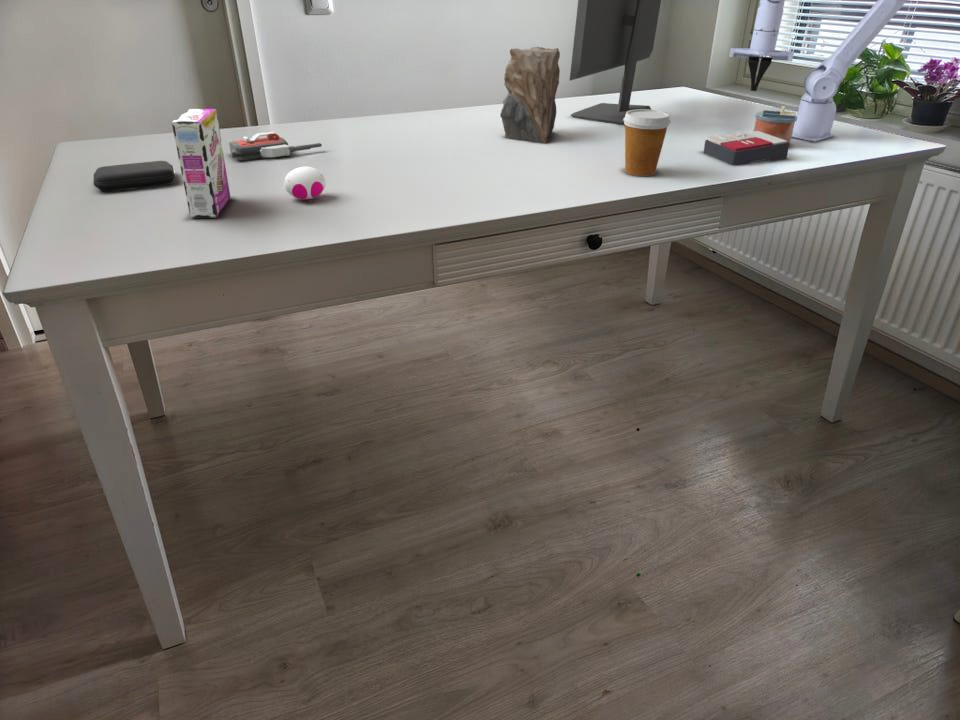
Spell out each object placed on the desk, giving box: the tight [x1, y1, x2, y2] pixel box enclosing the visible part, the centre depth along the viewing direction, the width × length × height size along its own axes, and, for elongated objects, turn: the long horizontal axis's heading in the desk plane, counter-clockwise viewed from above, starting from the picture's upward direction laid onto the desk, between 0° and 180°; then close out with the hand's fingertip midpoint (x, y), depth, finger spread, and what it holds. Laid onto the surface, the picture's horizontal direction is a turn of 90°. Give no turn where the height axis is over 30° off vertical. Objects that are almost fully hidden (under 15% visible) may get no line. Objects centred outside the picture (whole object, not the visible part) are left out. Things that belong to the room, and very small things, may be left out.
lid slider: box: [780, 105, 796, 116], centre depth 166 cm, size 3×3×2 cm
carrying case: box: [93, 160, 177, 192], centre depth 139 cm, size 11×3×15 cm
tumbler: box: [753, 109, 797, 146], centre depth 169 cm, size 9×9×7 cm
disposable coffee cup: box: [623, 109, 671, 177], centre depth 146 cm, size 10×10×12 cm
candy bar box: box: [171, 108, 231, 219], centre depth 123 cm, size 11×5×16 cm, turn 5°
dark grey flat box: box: [703, 130, 791, 166], centre depth 160 cm, size 11×4×15 cm
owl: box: [499, 46, 561, 144], centre depth 170 cm, size 13×13×20 cm
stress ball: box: [283, 166, 327, 203], centre depth 131 cm, size 8×8×7 cm
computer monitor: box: [569, 0, 662, 126], centre depth 185 cm, size 44×16×40 cm, turn 144°
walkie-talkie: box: [228, 131, 322, 162], centre depth 157 cm, size 9×4×20 cm
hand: (753, 90), depth 174 cm, fingers closed
